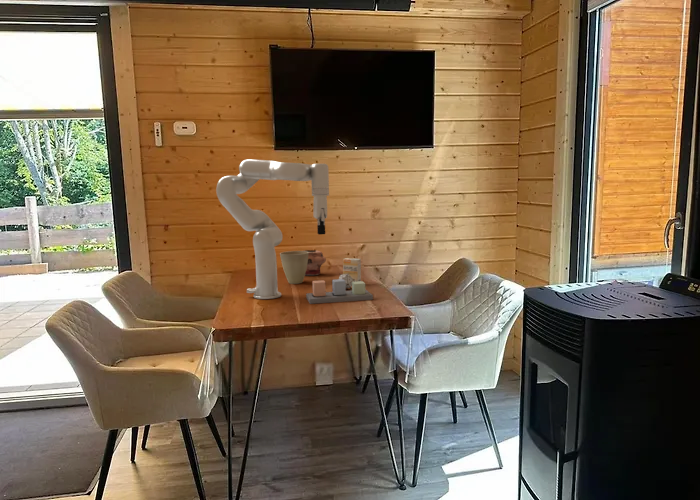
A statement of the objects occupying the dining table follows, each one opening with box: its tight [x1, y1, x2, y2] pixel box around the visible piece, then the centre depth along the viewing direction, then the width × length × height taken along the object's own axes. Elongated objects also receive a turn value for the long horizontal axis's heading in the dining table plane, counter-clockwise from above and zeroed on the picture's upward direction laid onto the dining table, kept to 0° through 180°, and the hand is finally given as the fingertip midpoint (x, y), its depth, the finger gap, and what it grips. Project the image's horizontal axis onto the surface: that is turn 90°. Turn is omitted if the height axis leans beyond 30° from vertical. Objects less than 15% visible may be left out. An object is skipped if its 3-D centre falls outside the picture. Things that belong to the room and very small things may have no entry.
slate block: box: [331, 278, 347, 295], centre depth 219 cm, size 5×5×6 cm
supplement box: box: [342, 257, 362, 282], centre depth 252 cm, size 8×5×13 cm, turn 68°
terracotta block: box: [312, 279, 327, 296], centre depth 217 cm, size 5×5×6 cm
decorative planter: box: [304, 249, 327, 276], centre depth 280 cm, size 20×12×14 cm, turn 91°
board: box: [305, 289, 374, 305], centre depth 220 cm, size 28×12×2 cm, turn 103°
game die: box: [338, 272, 355, 290], centre depth 239 cm, size 9×8×10 cm
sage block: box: [351, 280, 366, 295], centre depth 221 cm, size 5×5×6 cm
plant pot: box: [279, 250, 309, 285], centre depth 257 cm, size 15×15×16 cm
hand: (321, 234), depth 217 cm, fingers closed
